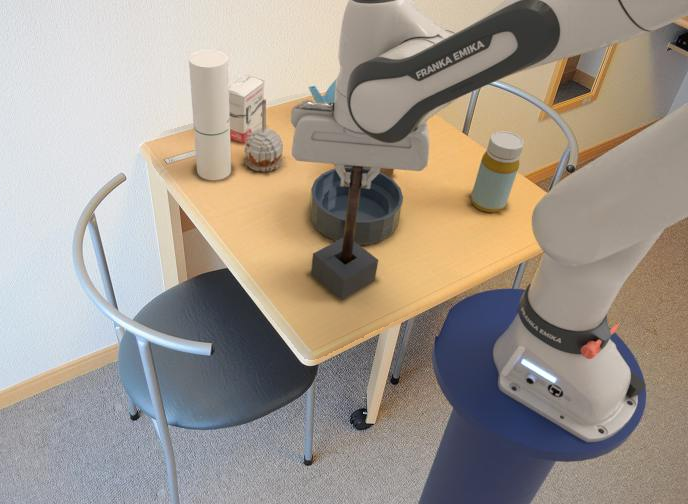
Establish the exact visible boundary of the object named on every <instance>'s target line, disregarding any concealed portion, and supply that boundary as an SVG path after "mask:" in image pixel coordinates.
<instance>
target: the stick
mask: <svg viewBox="0 0 688 504" xmlns="http://www.w3.org/2000/svg"><path fill="white" fill-rule="evenodd" d="M362 174H363V166H352V167H351V180H350V187H349V193H348V202H347V210H346V219H345V228H344V236H343V245H342V254H341V262H342V263H344V264H347V263H349V262H351V259H352V251H353V244H354V236H355V228H356V221H357V213H358V205H359V198H360V190H361V180H362Z"/></svg>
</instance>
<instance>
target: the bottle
mask: <svg viewBox="0 0 688 504" xmlns="http://www.w3.org/2000/svg"><path fill="white" fill-rule="evenodd" d="M524 145H525V141H524V139H523V137H521V136H520V135H518V134H516V133H514V132H511V131H507V130H506V131H505V130H500V131H499V130H498V131H495V132H493V133H492V134H491V135H490V137H489V141H488V144H487V148H486V151H485V152H484V153H483V154H482V157H481V159H480V163H479V167H478V171H477V174H476V178H475V181H474V184H473V188H472V191H471V194H470V195H471V196H470V202H471V203H472V204H473V206H474V207H475V208H476V209H477V210H479V211H481V212H485V213H490V214H491V213H492V214H493V213H498V212H500V211H502V210H504V209H505V208H506V206H507V203H508V200H509V197H510V194H511V192H512V189H513V185H514V183H515V180H516V176H517V174H518V171H519V168H520V157H521V154H522V152H523V148H524Z"/></svg>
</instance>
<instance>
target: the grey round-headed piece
mask: <svg viewBox="0 0 688 504" xmlns="http://www.w3.org/2000/svg"><path fill="white" fill-rule="evenodd" d="M244 143H245V144H244V153H245V158H244V161H245V165H246V166H247V167H248V169H251V170H254V171H256V172H259V171H261V172H264V173H265V172H268V171H270V172H271V171H273V170H277V169H278V168H279V167H280V166H282V165H283V157H282V156H283V150H284V143H283V140H282V137H281V135H280V134H278V133H277V132H276V131H275V130H273V129H271V128H268V127H267V99H265V98H264V99H263V100H262V128H260V129H259V128H257V129H256V130H254V131H253V132H252V133H250V134H249V137H248V138H247V140H246V141H245V142H244Z"/></svg>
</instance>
